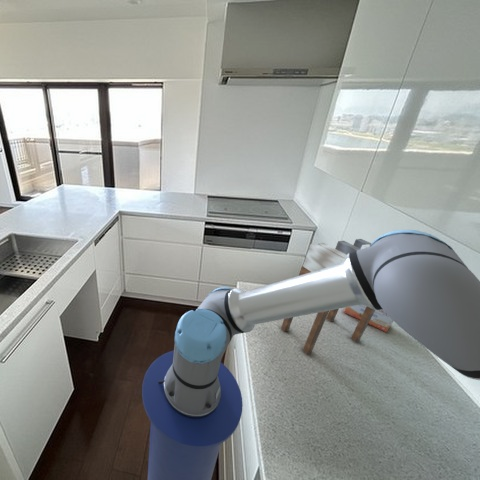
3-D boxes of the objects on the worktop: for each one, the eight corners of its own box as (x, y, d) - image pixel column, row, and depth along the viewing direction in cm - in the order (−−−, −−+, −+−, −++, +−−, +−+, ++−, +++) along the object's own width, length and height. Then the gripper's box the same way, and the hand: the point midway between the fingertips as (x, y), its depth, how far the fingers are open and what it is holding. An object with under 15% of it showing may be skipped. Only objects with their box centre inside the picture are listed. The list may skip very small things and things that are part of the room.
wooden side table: (359, 341, 89) (404, 255, 74) (306, 354, 82) (344, 263, 68) (329, 317, 99) (363, 238, 85) (281, 327, 93) (309, 244, 78)
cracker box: (343, 313, 102) (363, 268, 93) (347, 306, 106) (367, 263, 97) (387, 333, 93) (414, 286, 84) (389, 325, 96) (416, 279, 87)
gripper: (472, 403, 47) (384, 287, 60) (519, 383, 52) (428, 279, 64) (526, 400, 41) (416, 272, 54) (574, 378, 46) (462, 264, 58)
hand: (423, 276), depth 59 cm, fingers closed on white book, 2 cm apart
